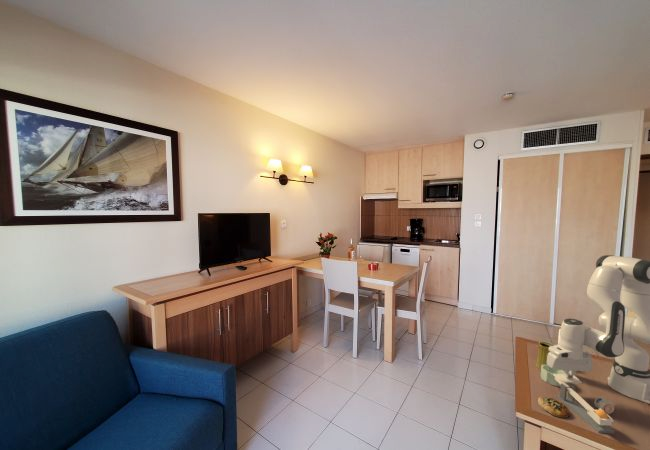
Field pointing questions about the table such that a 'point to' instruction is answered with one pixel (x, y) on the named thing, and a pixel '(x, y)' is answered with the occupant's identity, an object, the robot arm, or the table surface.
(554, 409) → the bread roll
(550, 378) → the cup
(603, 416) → the ball
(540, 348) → the vase
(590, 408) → the lever
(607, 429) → the catapult base
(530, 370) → the table surface
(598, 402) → the roller toy
